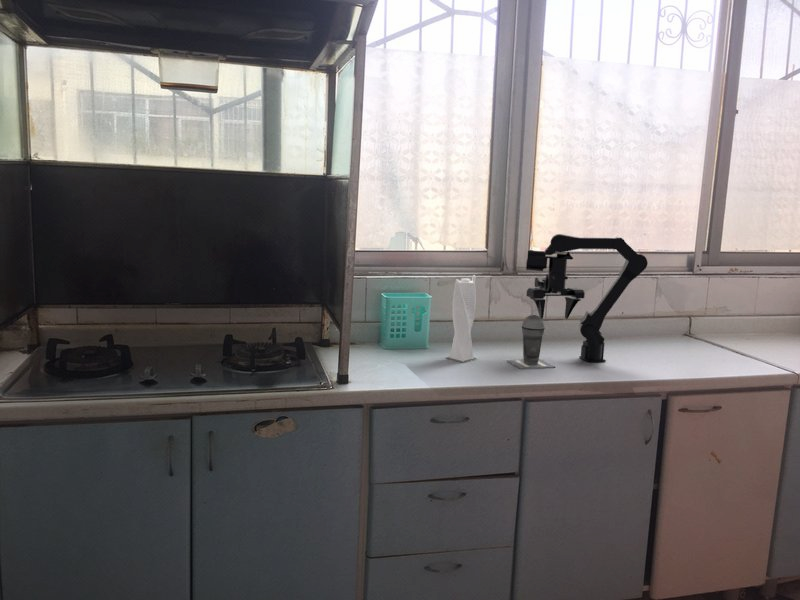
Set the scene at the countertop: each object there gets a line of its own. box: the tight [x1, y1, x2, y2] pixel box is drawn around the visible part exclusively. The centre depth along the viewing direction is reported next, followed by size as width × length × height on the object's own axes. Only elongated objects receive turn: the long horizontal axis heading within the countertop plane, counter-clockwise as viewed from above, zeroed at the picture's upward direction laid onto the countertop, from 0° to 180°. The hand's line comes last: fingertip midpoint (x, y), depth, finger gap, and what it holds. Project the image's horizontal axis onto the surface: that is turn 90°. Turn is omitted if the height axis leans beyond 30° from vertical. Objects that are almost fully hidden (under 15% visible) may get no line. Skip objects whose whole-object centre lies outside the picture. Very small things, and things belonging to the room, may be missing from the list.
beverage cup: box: [521, 300, 546, 365], centre depth 218 cm, size 7×7×20 cm
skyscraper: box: [445, 274, 477, 363], centre depth 221 cm, size 8×8×28 cm
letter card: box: [506, 358, 556, 370], centre depth 220 cm, size 12×10×1 cm
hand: (553, 318), depth 229 cm, fingers open, 9 cm apart
